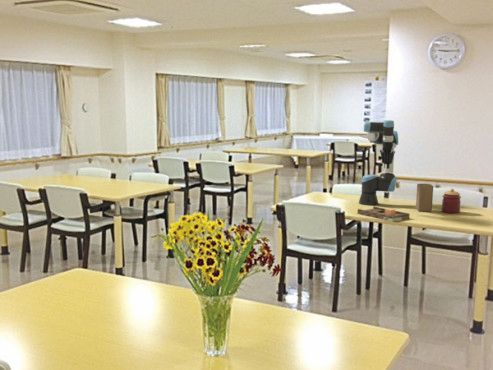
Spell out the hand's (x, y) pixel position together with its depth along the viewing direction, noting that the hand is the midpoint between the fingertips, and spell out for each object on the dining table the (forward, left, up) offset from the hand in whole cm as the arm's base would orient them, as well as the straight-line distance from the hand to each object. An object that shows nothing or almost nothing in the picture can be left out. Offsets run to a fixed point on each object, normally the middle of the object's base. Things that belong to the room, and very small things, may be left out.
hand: (386, 172), depth 397 cm
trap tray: (+13, -18, -29) cm, 36 cm away
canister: (+32, +36, -29) cm, 56 cm away
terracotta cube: (+23, -23, -27) cm, 42 cm away
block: (+17, +24, -29) cm, 41 cm away
